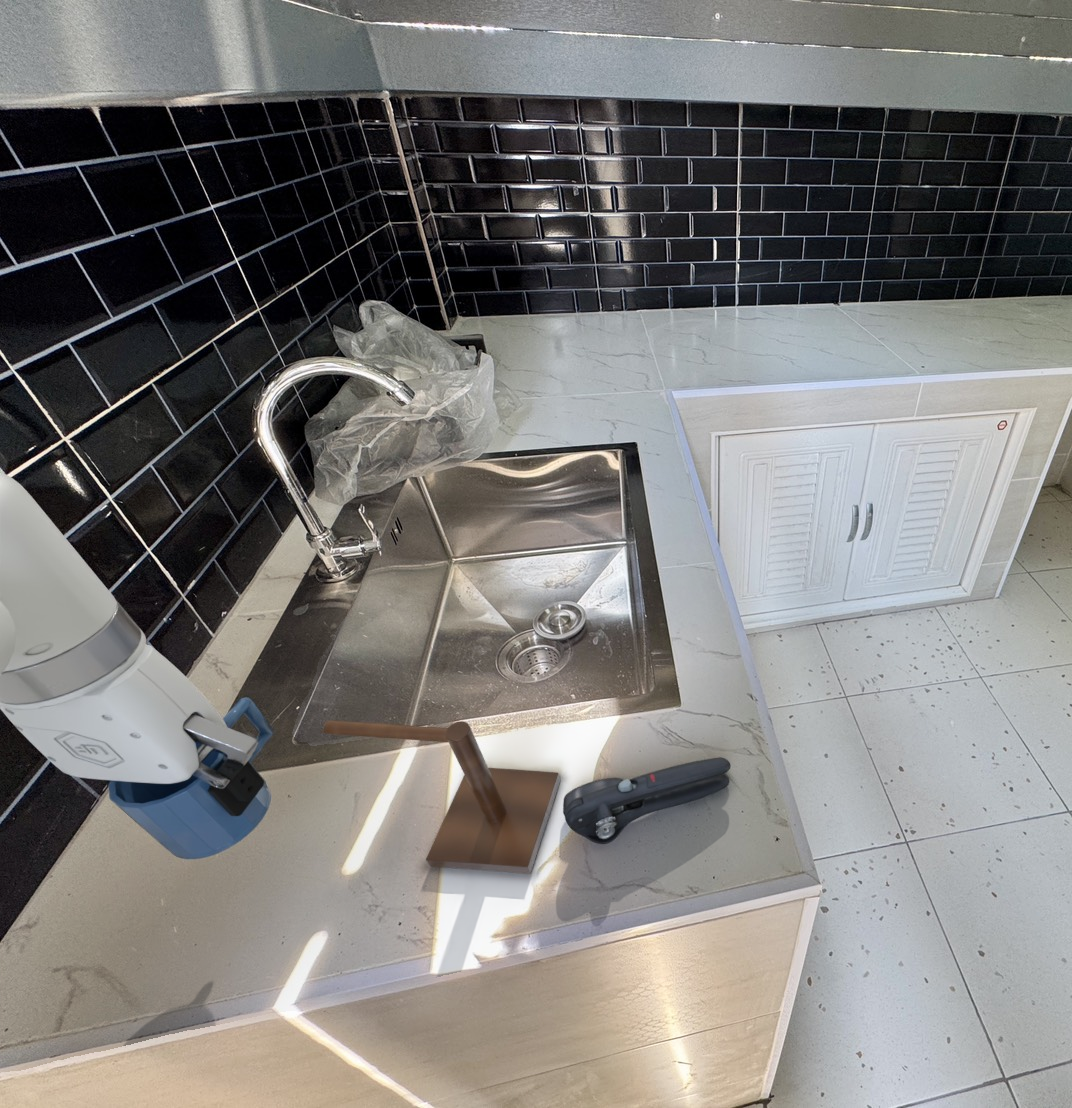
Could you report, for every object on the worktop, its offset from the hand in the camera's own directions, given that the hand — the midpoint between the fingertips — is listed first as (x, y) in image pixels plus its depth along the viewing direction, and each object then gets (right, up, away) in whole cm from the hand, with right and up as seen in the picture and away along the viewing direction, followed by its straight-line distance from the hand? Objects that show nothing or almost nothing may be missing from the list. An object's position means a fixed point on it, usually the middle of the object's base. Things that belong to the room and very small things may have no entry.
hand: (201, 795), depth 50 cm
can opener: (+36, -7, +14) cm, 39 cm away
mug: (0, -1, +4) cm, 4 cm away
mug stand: (+17, -7, +12) cm, 22 cm away
